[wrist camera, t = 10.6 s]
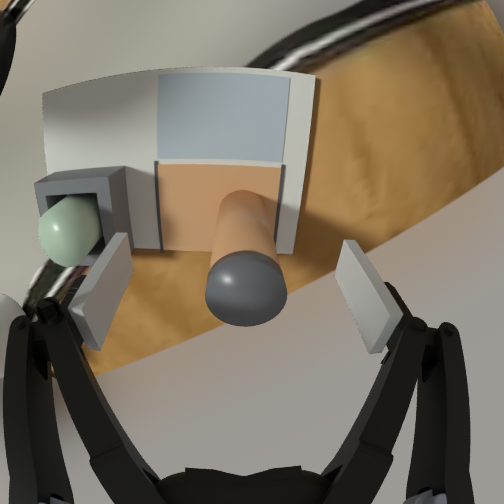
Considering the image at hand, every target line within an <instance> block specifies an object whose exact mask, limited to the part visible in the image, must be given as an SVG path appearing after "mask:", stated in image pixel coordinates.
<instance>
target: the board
mask: <svg viewBox="0 0 504 504" xmlns="http://www.w3.org/2000/svg"><path fill="white" fill-rule="evenodd" d="M314 87H315V76H314V75H308V74H302V73H295V72H287V71H279V70H269V69H257V68H241V67H186V68H171V69H170V68H169V69H159V70H149V71H140V72H133V73H126V74H120V75H114V76H109V77H104V78H99V79H94V80H89V81H85V82H81V83H77V84H73V85H69V86H66V87H62V88H59V89H55V90H52V91H49V92H46V93H43V131H44V146H45V156H46V164H47V173H48V176H46V177H45V178H43V179H41V180H39V181H38V182H36V183H34V187H35V192H36V198H37V203H38V208H39V212H40V217H41V216H42V215H43V214H44V213H45V212H46V211H48V210H49V209H50V208H52V207H53V206H54V205H56V204H57V203H58V202H60V201H61V200H62V199H64V198H65V197H67V196H68V195H69V194H78V193H94V194H95V195H96V196H97V198H98V205H99V212H100V218H101V224H102V229H103V236H102V237H101V238H100V240H99V241H98V242H97V243H96V244H95V246H94V247H93V248H92V249H91V250H90V252H89V253H88V254H87V256H86V257H85V258H84V259H83V261H82V262H81V263H80V264H79V265H84V266H93V265H94V264H95V262H96V261H97V259H98V258H99V256H100V255H101V253H102V252H103V250H104V249H105V248H106V246H107V245H108V243H109V242H110V240H111V239H112V238H113V236H114V235H115V233H127V234H128V240H129V246H130V251H131V253H132V251H133V250H134V248H145V249H160V250H161V253H164V250H182V251H208V252H212V250H213V243H214V236H215V230H216V224H217V218H218V211H219V206H220V204H221V202H222V200H223V199H224V198H225V197H226V196H227V195H228V194H230V193H232V192H234V191H238V190H248V191H251V192H254V193H255V194H257V195H258V196H259V197H260V198H261V199H262V200H263V202H264V204H265V207H266V211H267V215H268V219H269V223H270V227H271V231H272V235H273V239H274V243H275V247H276V251H277V254H293V248H294V242H295V236H296V230H297V223H298V217H299V210H300V203H301V196H302V189H303V182H304V175H305V167H306V159H307V151H308V143H309V135H310V126H311V117H312V107H313V97H314ZM52 261H53V260H52ZM53 263H56V262H54V261H53Z"/></svg>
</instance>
